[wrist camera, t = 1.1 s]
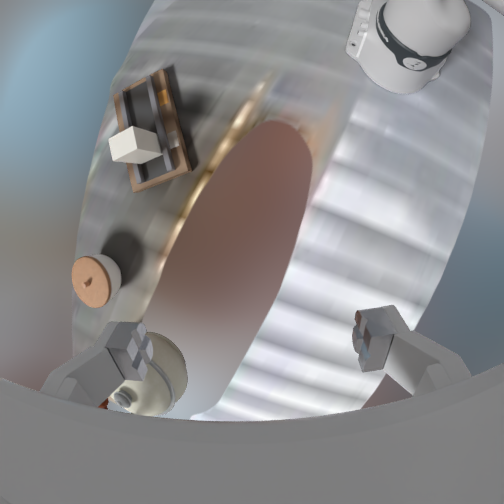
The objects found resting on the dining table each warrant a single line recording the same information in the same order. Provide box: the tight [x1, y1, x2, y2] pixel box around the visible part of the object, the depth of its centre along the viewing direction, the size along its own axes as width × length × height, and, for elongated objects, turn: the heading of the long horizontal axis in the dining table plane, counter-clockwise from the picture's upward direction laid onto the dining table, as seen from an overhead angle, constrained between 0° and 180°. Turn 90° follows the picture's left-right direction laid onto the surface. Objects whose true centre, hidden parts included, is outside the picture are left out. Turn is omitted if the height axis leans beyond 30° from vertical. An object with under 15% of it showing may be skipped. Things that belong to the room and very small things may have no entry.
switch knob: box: [109, 126, 163, 164], centre depth 43 cm, size 4×5×9 cm
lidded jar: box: [72, 254, 121, 308], centre depth 52 cm, size 11×11×9 cm
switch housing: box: [113, 69, 192, 193], centre depth 47 cm, size 22×12×4 cm, turn 16°
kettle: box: [98, 332, 188, 416], centre depth 48 cm, size 25×18×25 cm
